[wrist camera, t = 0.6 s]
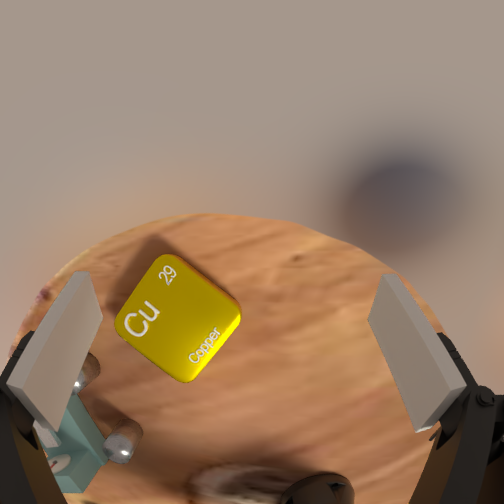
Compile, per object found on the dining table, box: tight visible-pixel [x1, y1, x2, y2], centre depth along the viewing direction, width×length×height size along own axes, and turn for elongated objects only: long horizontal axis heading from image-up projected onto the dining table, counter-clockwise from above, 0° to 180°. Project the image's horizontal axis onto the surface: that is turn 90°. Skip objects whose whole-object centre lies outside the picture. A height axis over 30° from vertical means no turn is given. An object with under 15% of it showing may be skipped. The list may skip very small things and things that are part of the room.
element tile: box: [114, 254, 242, 383], centre depth 44 cm, size 15×15×5 cm
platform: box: [33, 420, 62, 448], centre depth 38 cm, size 9×4×3 cm, turn 24°
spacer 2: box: [102, 419, 143, 464], centre depth 41 cm, size 5×5×8 cm
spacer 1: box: [71, 353, 100, 396], centre depth 41 cm, size 5×5×8 cm
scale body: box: [37, 394, 109, 493], centre depth 38 cm, size 15×14×14 cm
